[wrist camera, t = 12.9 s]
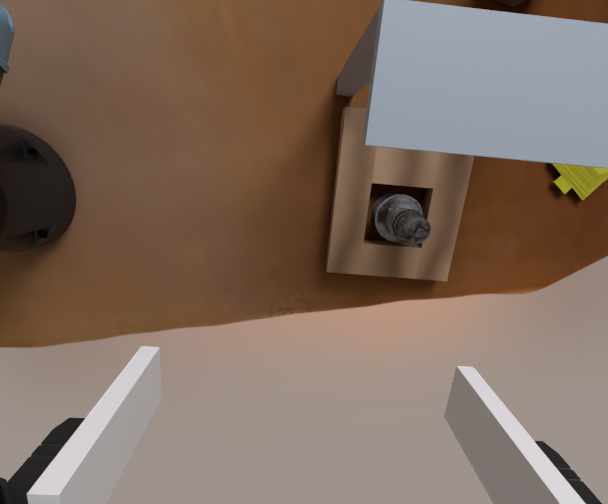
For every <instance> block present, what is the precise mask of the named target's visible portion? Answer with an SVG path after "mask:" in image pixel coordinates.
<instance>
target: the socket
mask: <svg viewBox="0 0 608 504" xmlns="http://www.w3.org/2000/svg"><path fill="white" fill-rule="evenodd" d="M365 116H366V109H364V108H354V107H345V108H344V109H343V111H342V120H341V129H340V138H339V147H338V156H337V164H336V173H335V182H334V191H333V200H332V209H331V218H330V227H329V235H328V244H327V253H326V262H325V267H326V271H327V272H331V273H344V274H357V275H370V276H384V277H397V278H410V279H423V280H436V281H447V279H448V274H449V270H450V265H451V261H452V256H453V252H454V247H455V243H456V238H457V234H458V229H459V224H460V220H461V215H462V211H463V206H464V202H465V197H466V193H467V188H468V184H469V179H470V175H471V170H472V166H473V161H474V156H470V155H460V154H449V153H439V152H428V151H418V150H407V149H397V148H386V147H376V146H365V145H362V139H363V131H364V123H365ZM372 183H377V184H388V185H399V186H410V187H422V188H425V192H424V197H423V203H422V212H423V217H424V219H426V220H427V221H428V222H429V224H430V226H431V234H430V236H429V237H428V239H427V240H426V241H424V242H422V243H419V244H413V243H408V242H393V241H383V240H371V239H364V234H365V227H366V220H367V213H368V206H369V199H370V192H371V185H372Z"/></svg>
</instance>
